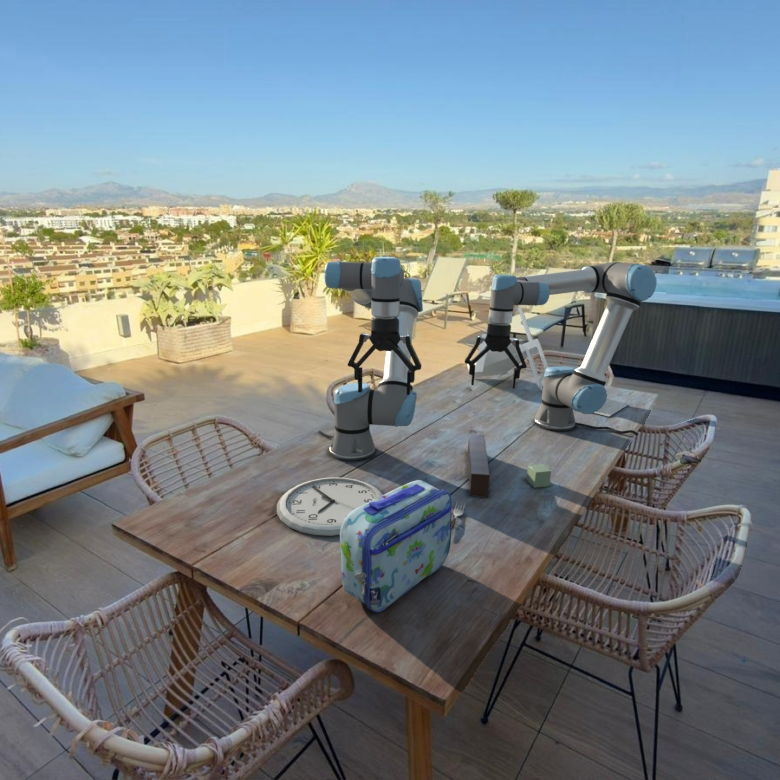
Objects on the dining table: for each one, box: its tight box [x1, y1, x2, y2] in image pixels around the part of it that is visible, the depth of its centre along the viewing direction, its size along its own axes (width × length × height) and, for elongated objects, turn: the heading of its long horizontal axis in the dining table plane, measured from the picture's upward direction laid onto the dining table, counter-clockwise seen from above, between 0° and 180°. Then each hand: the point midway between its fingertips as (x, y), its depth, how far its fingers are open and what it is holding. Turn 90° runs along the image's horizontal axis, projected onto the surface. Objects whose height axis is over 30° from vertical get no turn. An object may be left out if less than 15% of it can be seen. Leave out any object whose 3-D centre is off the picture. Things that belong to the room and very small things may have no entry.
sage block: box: [526, 463, 552, 489], centre depth 157 cm, size 5×5×5 cm
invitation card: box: [593, 399, 629, 418], centre depth 226 cm, size 21×1×15 cm
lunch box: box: [339, 479, 452, 613], centre depth 109 cm, size 26×11×21 cm, turn 134°
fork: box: [451, 500, 466, 531], centre depth 135 cm, size 3×16×2 cm, turn 160°
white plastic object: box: [466, 306, 550, 391], centre depth 257 cm, size 37×45×31 cm
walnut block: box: [467, 433, 490, 498], centre depth 162 cm, size 30×5×7 cm, turn 173°
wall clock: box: [276, 476, 385, 537], centre depth 142 cm, size 30×2×30 cm
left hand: (384, 392), depth 146 cm, fingers open, 13 cm apart
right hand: (492, 386), depth 176 cm, fingers open, 13 cm apart
